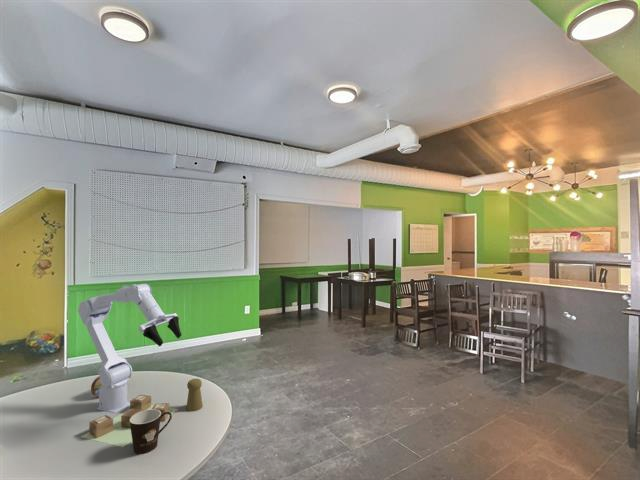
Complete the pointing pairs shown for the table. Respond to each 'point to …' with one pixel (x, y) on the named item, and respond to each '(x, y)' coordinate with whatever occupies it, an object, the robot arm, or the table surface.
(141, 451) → the coffee mug
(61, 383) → the table surface
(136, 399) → the tile block
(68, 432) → the table surface
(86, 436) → the mat
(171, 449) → the table surface
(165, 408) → the tile block
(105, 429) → the tile block
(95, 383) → the tin
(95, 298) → the robot arm
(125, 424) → the plain block
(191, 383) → the cork
